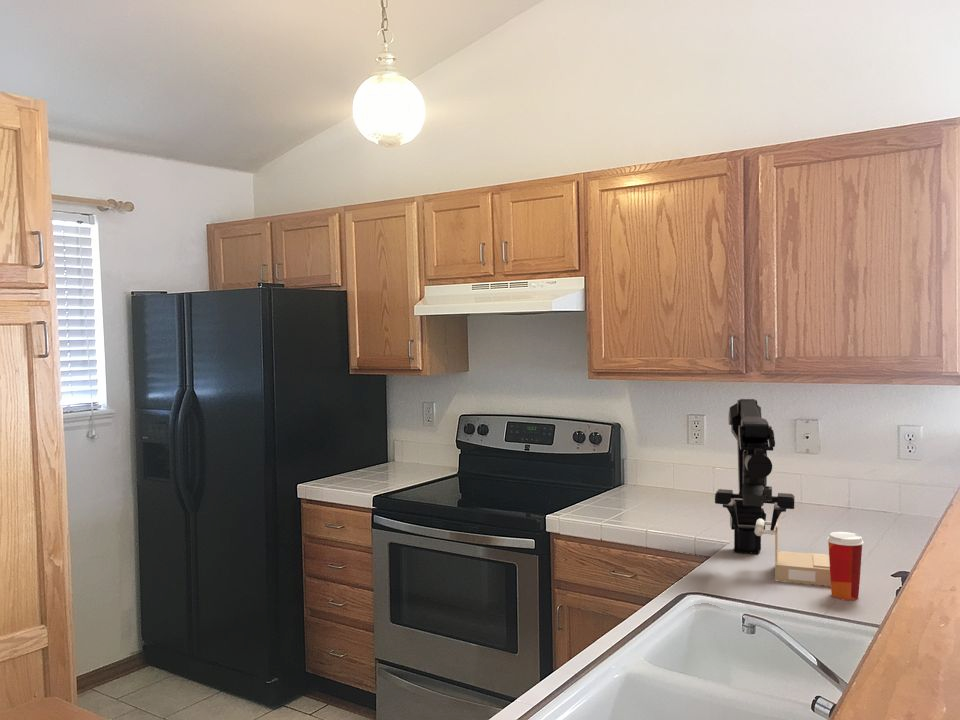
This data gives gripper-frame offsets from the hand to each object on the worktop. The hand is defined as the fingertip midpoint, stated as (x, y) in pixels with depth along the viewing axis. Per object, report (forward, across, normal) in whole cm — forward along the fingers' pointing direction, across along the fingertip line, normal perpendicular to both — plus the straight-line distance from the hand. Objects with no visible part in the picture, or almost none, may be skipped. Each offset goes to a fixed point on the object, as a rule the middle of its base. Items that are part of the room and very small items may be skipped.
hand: (754, 532), depth 205 cm
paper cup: (+10, +20, -13) cm, 26 cm away
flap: (+1, +6, 0) cm, 6 cm away
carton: (+10, +13, 0) cm, 16 cm away
